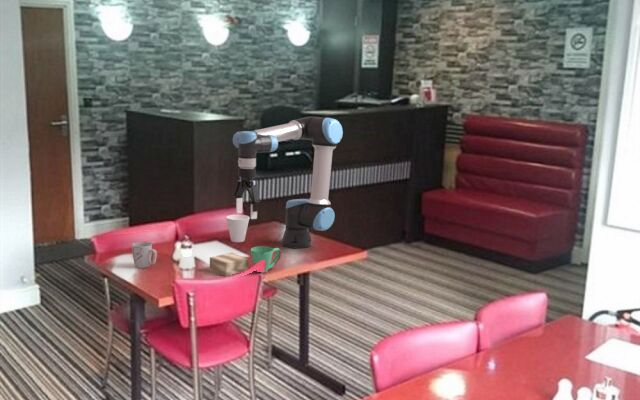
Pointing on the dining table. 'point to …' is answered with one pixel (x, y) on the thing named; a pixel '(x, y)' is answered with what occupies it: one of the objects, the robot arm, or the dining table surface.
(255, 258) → the mug
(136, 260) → the mug
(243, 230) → the cup
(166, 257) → the dining table surface
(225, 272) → the beech block
